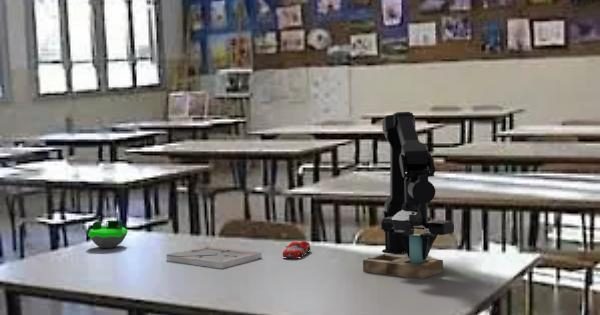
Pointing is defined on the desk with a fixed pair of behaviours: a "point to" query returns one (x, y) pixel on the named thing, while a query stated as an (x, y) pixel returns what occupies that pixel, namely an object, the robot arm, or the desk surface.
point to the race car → (296, 249)
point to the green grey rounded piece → (108, 233)
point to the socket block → (401, 266)
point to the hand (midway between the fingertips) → (417, 258)
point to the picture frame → (213, 256)
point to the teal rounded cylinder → (415, 249)
